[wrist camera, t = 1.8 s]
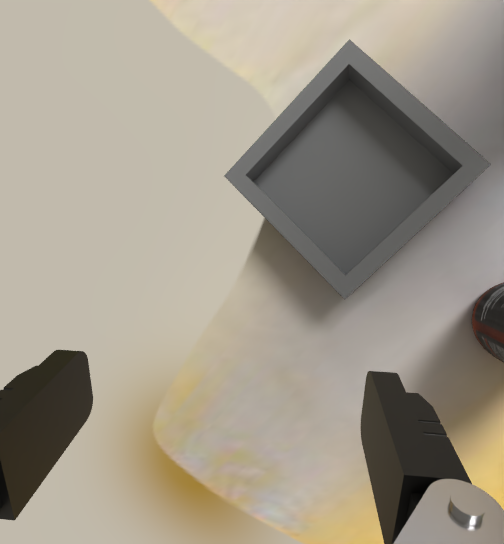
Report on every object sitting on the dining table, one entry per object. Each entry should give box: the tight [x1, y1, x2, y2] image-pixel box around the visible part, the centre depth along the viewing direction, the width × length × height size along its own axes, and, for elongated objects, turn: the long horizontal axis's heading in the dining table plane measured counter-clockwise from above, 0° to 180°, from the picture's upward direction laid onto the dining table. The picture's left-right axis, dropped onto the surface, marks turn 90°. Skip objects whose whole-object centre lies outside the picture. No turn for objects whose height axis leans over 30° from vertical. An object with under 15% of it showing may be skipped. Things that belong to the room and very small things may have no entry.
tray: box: [225, 39, 491, 299], centre depth 30 cm, size 13×13×4 cm
